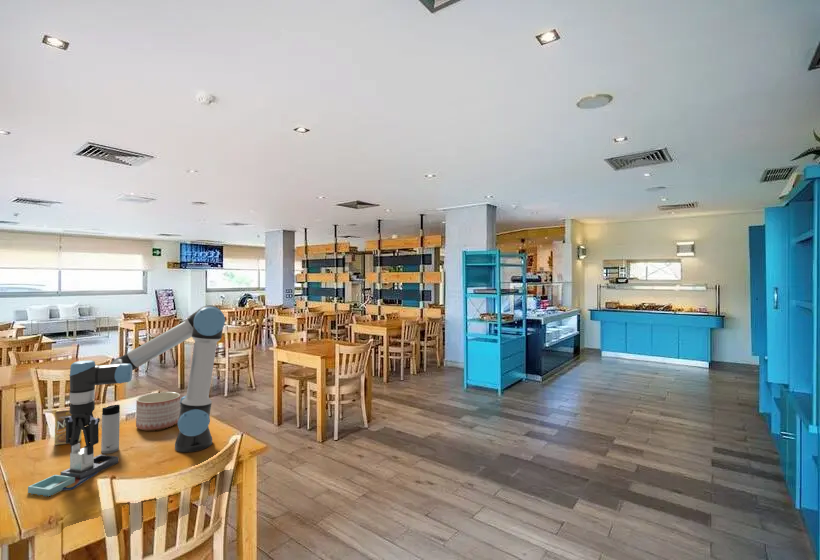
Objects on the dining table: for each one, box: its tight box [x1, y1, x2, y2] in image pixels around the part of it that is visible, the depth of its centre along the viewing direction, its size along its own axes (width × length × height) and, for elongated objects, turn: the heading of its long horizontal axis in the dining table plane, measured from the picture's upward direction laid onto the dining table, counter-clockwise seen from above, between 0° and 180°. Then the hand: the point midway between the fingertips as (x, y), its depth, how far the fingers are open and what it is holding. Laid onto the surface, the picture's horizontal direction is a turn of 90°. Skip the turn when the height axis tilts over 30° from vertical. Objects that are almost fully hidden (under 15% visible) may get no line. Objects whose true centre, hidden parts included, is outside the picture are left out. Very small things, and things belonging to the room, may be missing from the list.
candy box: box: [54, 407, 83, 446], centre depth 186 cm, size 9×4×15 cm, turn 113°
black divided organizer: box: [59, 453, 119, 480], centre depth 160 cm, size 9×16×2 cm, turn 169°
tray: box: [27, 474, 75, 498], centre depth 146 cm, size 9×9×2 cm
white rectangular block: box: [69, 447, 95, 473], centre depth 156 cm, size 5×5×8 cm
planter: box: [135, 391, 181, 432], centre depth 209 cm, size 19×19×15 cm
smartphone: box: [53, 472, 99, 491], centre depth 153 cm, size 7×15×1 cm, turn 3°
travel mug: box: [100, 404, 121, 455], centre depth 178 cm, size 6×7×20 cm
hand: (81, 461), depth 156 cm, fingers closed on white rectangular block, 5 cm apart
